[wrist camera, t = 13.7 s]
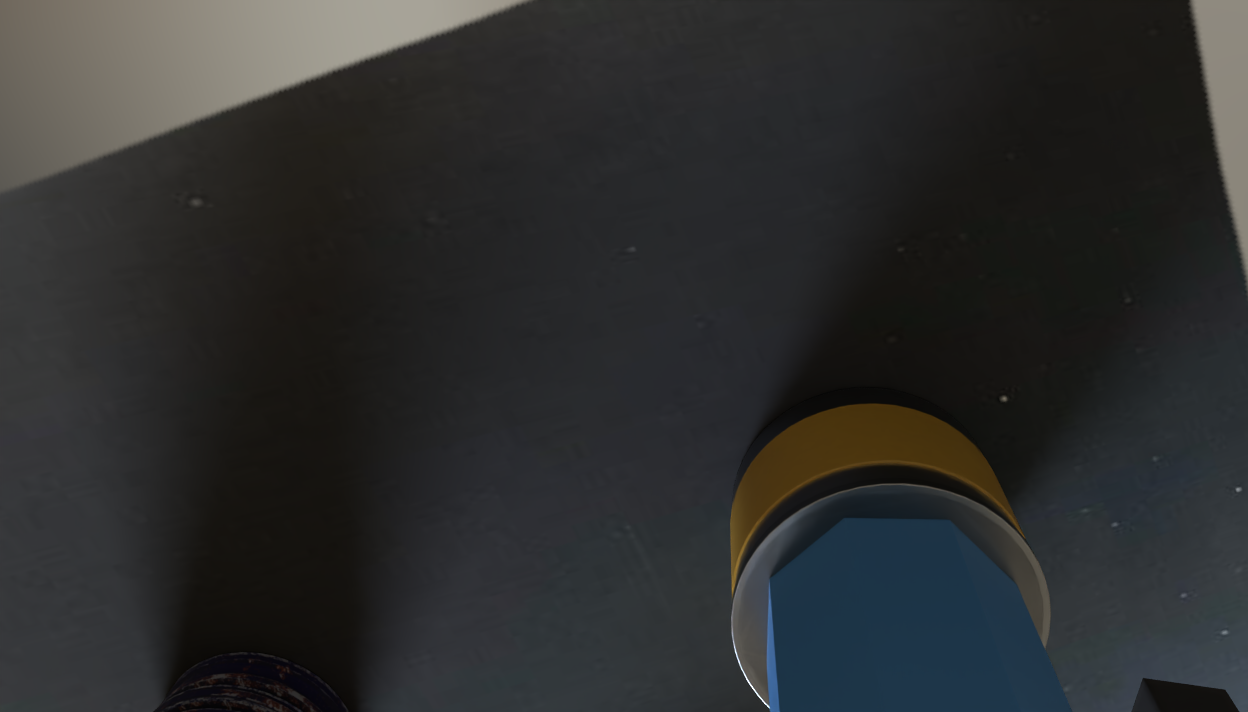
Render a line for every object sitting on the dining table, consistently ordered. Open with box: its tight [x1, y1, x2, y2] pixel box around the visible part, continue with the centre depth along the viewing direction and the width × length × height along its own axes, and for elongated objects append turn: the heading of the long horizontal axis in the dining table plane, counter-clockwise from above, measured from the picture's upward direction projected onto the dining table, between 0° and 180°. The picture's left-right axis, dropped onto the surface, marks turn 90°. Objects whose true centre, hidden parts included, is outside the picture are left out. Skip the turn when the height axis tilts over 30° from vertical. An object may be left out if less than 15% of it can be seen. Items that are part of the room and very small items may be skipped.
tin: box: [730, 388, 1051, 708], centre depth 47 cm, size 11×11×9 cm
